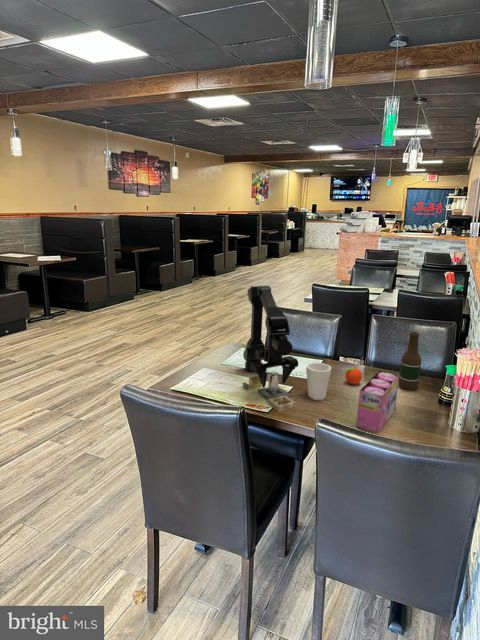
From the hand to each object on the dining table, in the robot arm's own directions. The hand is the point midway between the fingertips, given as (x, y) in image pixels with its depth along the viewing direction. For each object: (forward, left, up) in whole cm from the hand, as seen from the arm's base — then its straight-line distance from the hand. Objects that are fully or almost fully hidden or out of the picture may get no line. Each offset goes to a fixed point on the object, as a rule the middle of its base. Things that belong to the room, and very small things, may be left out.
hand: (273, 385), depth 167 cm
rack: (+2, +9, -5) cm, 10 cm away
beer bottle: (-56, +17, -5) cm, 59 cm away
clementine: (-38, +3, -5) cm, 38 cm away
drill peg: (0, 0, -4) cm, 4 cm away
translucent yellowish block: (+2, -10, -4) cm, 11 cm away
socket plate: (+1, -4, -5) cm, 7 cm away
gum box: (-24, +30, -6) cm, 39 cm away
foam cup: (-15, +8, -5) cm, 18 cm away
